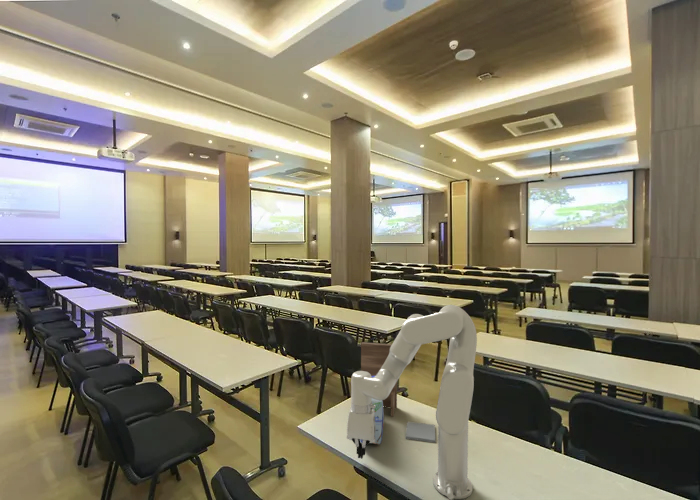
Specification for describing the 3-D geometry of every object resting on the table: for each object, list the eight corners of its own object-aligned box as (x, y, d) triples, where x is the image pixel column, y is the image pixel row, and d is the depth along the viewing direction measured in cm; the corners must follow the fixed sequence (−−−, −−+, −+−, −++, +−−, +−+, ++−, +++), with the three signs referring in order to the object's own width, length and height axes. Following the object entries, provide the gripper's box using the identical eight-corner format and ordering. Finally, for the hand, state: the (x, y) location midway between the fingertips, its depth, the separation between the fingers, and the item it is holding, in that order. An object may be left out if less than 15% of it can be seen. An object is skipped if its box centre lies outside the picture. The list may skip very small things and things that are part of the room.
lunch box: (358, 415, 157) (359, 368, 157) (380, 415, 157) (380, 369, 157) (359, 450, 130) (359, 394, 130) (385, 451, 130) (386, 394, 130)
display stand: (395, 416, 156) (395, 350, 156) (357, 412, 160) (358, 347, 160) (396, 407, 166) (397, 344, 165) (361, 403, 170) (361, 342, 169)
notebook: (435, 444, 136) (435, 440, 136) (405, 440, 138) (405, 436, 138) (434, 428, 147) (434, 424, 147) (407, 425, 150) (407, 421, 150)
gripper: (382, 404, 124) (382, 453, 124) (344, 399, 127) (343, 447, 128) (380, 413, 117) (379, 465, 117) (339, 409, 120) (338, 459, 120)
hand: (360, 456), depth 122 cm, fingers closed
